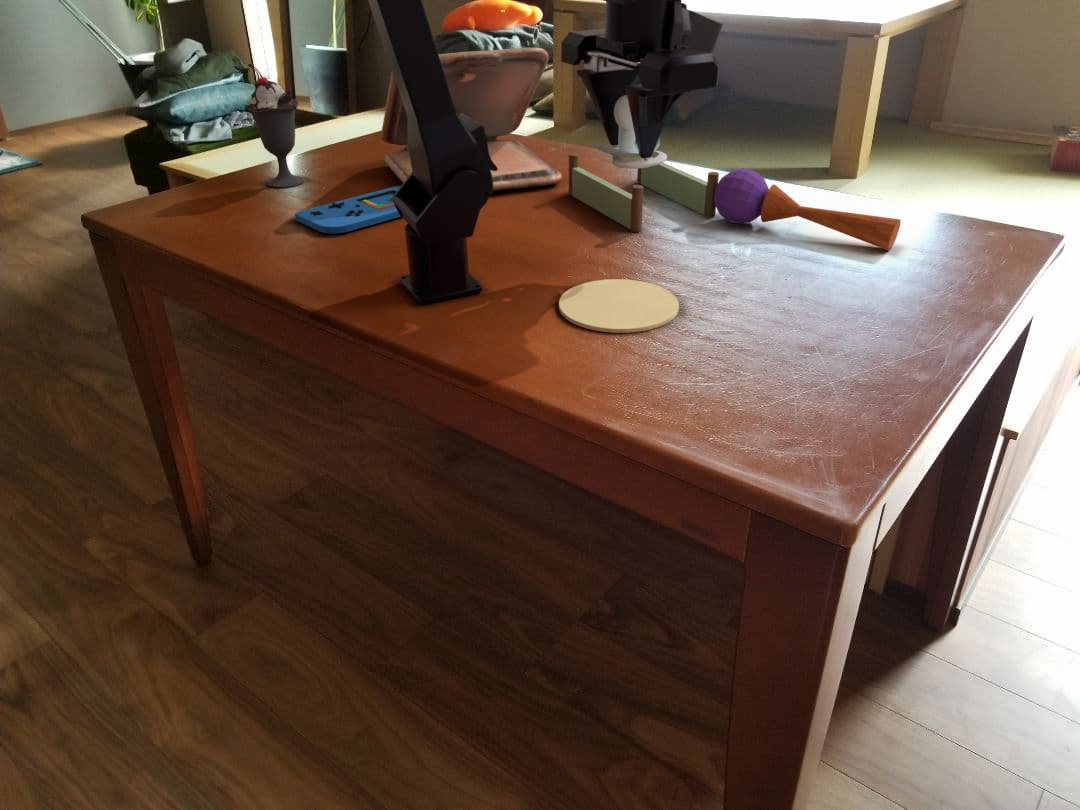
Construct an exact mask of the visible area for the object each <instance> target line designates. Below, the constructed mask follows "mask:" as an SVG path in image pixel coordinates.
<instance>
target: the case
mask: <svg viewBox="0 0 1080 810" xmlns="http://www.w3.org/2000/svg"><path fill="white" fill-rule="evenodd" d="M438 55H439V58H440V61H441V65H442V68H443V71H444V74H445V78H446V81H447V84H448V87H449V91H450V94H451V97H452V100H453V104H454V106H455V109H456V111H457V112H458V114H461V113H463V114H465V115H466V116H468V117H469V118H471V119H473V120H474V121H476V122H477V123H479V124H480V125H482V126H483V127H484V129H485V132H486V136H487V144H488V151H489V155H490V157H491V159H492V162H493V163H494V164H495V165H496V167H497V168H498V170H497V171H491V170H490V171H491V174H492V178H493V192H499V191H507V190H508V191H509V190H517V189H519V190H520V189H527V188H528V189H529V188H536V187H537V188H538V187H546V186H552V185H556V184H558V183H560V182H561V181H562V180H563V175H562V173H561V172H560V171H558V170H557V169H555V167H553V166H552V165H550V164H549V163H548V162H546V161H545V160H544V159H542V158H541V157H539V156H538V155H537V154H535V152H533V151H532V150H530V149H529V148H527V147H526V146H525V145H524V144H522V143H521V142H519V141H516V140H512V139H497V138H500V137H504V136H507V135H510V134H512V133H514V132H515V131H516V130H517V129H519V127H520V126H521V124H522V121H523V119H524V117H525V115H526V112H527V110H528V108H529V107H530V105H531V104H530V103H531V102H532V99H533V97H534V95H535V92H536V90H537V88H538V85H539V84H540V81H541V79H542V76H543V74H544V72H545V70H546V67H547V65H548V62H549V60H550V59H549V58H550V57H549V53H548V52H547V50H545V49H544V48H541V47H518V48H517V47H516V48H505V49H491V50H489V49H488V50H471V51H460V52H448V53H438ZM381 127H382V128H381V133H380V138H381V140H382V141H383V142H384V143H385V144H389V145H395V146H406V147H403V148H402V149H401V150H397V151H392V152H391V153H388V154H387V155H385V157H384V163H385V164H386V165H387V166H388V167H389V169H390V170H391V171H392V172H393V173H394V175H396V177H397V178H398V180H400V182H401V183H402V184H403V182H404V181H405V180H406V179H407V177H408V176H409V175H410V174H411V172H412V167H411V161H410V155H409V149H408V124H407V113H406V110H405V107H404V104H403V101H402V98H401V95H400V92H399V89H398V86H397V83H396V80H395V78H394V75H393V72H392V71H391V74H390V80H389V86H388V92H387V99H386V104H385V110H384V116H383V121H382V126H381Z"/></svg>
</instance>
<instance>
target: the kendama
mask: <svg viewBox="0 0 1080 810" xmlns="http://www.w3.org/2000/svg"><path fill="white" fill-rule="evenodd" d="M714 203H715V206H716V211H717V212H718V214H719V215H720V217H723V219H724V220H726V221H727V222H729V223H734V224H738V225H741V224H742V225H743V224H748V223H751V222H754V220H756V219H758V218H760V221H761V222H762V223H768V222H773V221H779V220H784V219H789V218H796V217H799V218H802V219H804V220H807V221H810V222H813V223H815V224H817V225H820V226H822V227H825V228H828V229H831V230H833V231H836V232H839V233H841V234H843V235H846V236H849V237H850V238H851V237H852V238H853V239H857V240H859V241H862V242H864V243H867V244H870V245H872V246H875V247H878V248H880V249H883V250H885V251H888V252H890V251H891V250H892V248H893V246H894V245H895V242H896V240H897V237H898V234H899V232H900V228H901V222H902V221H901V219H900V218H893V217H885V216H878V215H870V214H864V213H855V212H849V211H840V210H833V209H826V208H819V207H810V206H802V205H801V204H799V203H798V202H796V201H795V200H794V199H793V198H792V197H791V196H790V195H788V194H787V193H786V192H785V191H783V190H782V189H781V188H780V187H779V186H778V185H777V184H775V183H774V184H772V185H771V186H769V185H768V184H767V182H766V180H765V178H764V177H763V176H762V175H760V173H758V172H756V171H754V170H752V169H747V168H744V167H743V168H738V169H734V170H732V171H729V172H727V174H725V175H724V176H722V177H721V178H720V180H718V185H717V187H716V189H715V195H714Z"/></svg>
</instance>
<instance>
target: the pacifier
mask: <svg viewBox="0 0 1080 810" xmlns="http://www.w3.org/2000/svg"><path fill="white" fill-rule="evenodd" d="M614 116H615V120H616V122H617V124H618V125H619V134H618V145H617V146H616V147H612V146H609V145H606V144H602V143H598V142H594V143H593V148H595V149H596V150H598V151H600V152H603V153H604V154H608V155H611V159H612V160H611V163H612V165H613V166H614V167H616V168H620V169H630V170H632V169H633V170H635V169H636V170H638V168H646V167H651V166H655V165H658V164H661V163H662V162H663V163H665V161H667V159H668V155H667V154H666V153H665V152H663V151H661V150H658V149H659V146H660V144H661V137H659V139H658V142H657V144H656V147H655V149H654V152H653V154H652V156H651V157H652V158H653V159H649V160H644V159H643V158H641V157H640V154H639V151H638V147H637V143H636V138H635V133H634V128H633V123H632V118H631V112H630V107H629V103H628V98H627V95H625V96H622V97H621V98H619V100H618V101H617V102H616V105H615V108H614ZM643 160H644V161H643Z"/></svg>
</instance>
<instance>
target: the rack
mask: <svg viewBox="0 0 1080 810" xmlns="http://www.w3.org/2000/svg"><path fill="white" fill-rule="evenodd" d="M653 158H654V157H650V158H645V159H644V160H649V159H653ZM644 160H643V161H644ZM636 172H637V174H636V175H637V177H636V178H637V179H636V183H637V184H634V185H632V187H631V193H630V192H628V191H626V190H624V189H622V188H620V187H618V186H617V185H615V184H612V183H610V182H608V180H607V181H606V180H605V179H603V178H601V177H599V176H597V175H595V174H593V173H592V172H589V171H587V170H585V169H583V168H582V167H579V153H577V152H571V153H568V195H569V196H572V197H573V198H575V199H576V200H578V201H580V202H582V203H583V204H584V205H587V206H589V207H591V208H592V209H594V210H595V211H597V212H599V213H601V214H602V215H605V216H606V217H607V218H609V219H611V220H613V221H615V222H617V223H618V224H620V225H622V226H623V227H625V228H627V229H628V230H630V231H631V232H633V233H640V232H641V231H642V230H643V209H644V208H643V206H644V205H643V204H644V187H646V188H649V189H651V191H655V192H656V193H658V194H661V195H662V196H664V197H667V198H668V199H670V200H673V201H675V202H676V203H679V204H681V205H683V206H685V207H687V208H689V209H691V210H692V211H695V212H697V213H699V214H701V215H703V216H705V217H706V218H714V217H716V211H717V208H716V206H715V203H714V195H715V189H716V187H717V185H718V183H719V178H720V173H719V171H718V172H717V171H709V172H708V173H707V180H704V179H701V178H699V177H698V176H694V175H692V174H690V173H688V172H686V171H684V170H682V169H679V168H677V167H674V166H672V165H670V164H667V163H665V162H662V163H661V164H658V165H655V166H651V167H646V168H638V169H637V171H636Z"/></svg>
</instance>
